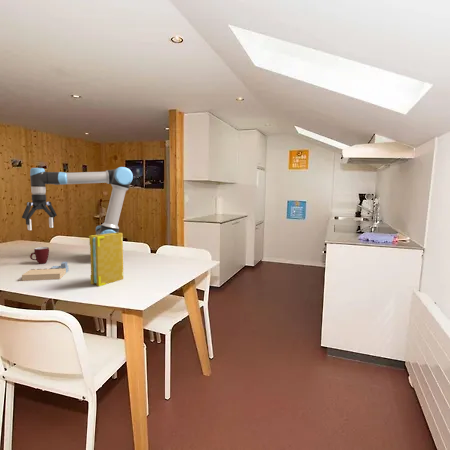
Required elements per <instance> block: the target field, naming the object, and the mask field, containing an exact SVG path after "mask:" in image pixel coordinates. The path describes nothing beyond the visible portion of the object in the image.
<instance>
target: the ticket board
mask: <svg viewBox="0 0 450 450" xmlns="http://www.w3.org/2000/svg"><path fill="white" fill-rule="evenodd" d="M66 274H67V272H66V268H55V269H53V268H52V269H50V268H35V269H34V268H31V269H29V270H28V271H26V272H25V273H23V274H22V275H21V281H22V282H25V281H44V280H45V281H47V280H48V281H49V280H50V281H51V280H60V279H62V278H63V277H64V276H65V275H66Z"/></svg>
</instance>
